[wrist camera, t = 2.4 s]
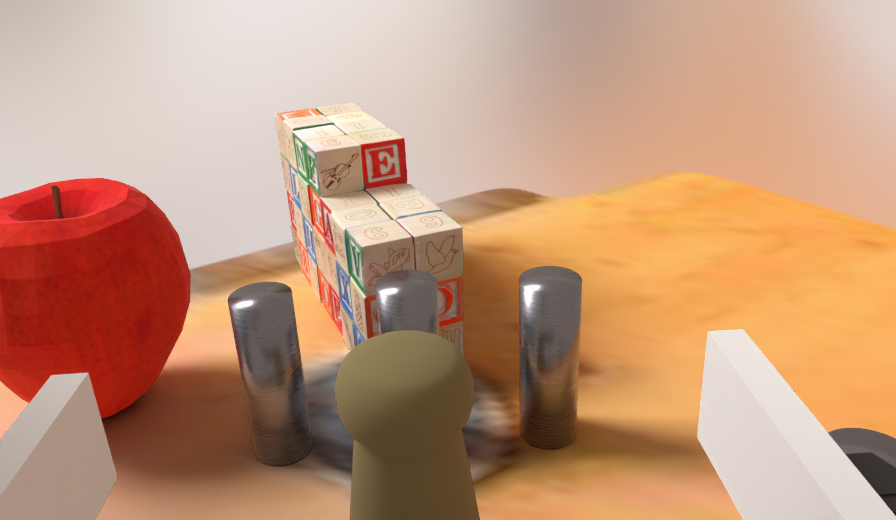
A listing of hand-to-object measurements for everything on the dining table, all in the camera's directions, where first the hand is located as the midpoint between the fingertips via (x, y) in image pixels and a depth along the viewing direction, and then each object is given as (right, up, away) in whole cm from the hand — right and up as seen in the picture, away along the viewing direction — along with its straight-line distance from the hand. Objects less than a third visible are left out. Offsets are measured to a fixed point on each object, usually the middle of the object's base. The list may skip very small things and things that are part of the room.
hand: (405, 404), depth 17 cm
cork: (0, -10, +16) cm, 19 cm away
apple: (-19, -6, +28) cm, 35 cm away
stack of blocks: (-5, 0, +39) cm, 39 cm away
